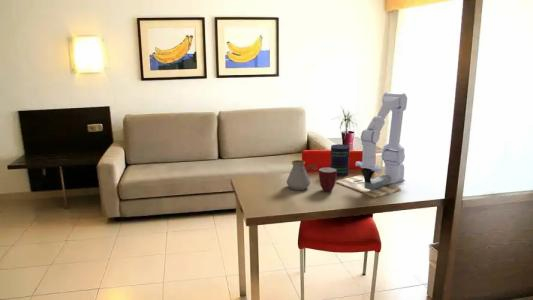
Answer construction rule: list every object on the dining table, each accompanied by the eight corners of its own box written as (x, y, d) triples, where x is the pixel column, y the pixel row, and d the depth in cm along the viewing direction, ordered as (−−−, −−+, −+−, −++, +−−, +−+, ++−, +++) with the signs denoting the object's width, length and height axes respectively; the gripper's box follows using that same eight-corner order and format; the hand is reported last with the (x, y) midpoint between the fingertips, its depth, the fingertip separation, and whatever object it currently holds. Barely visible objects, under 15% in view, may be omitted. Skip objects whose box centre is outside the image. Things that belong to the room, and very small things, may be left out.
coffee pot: (282, 185, 191) (282, 156, 187) (303, 182, 195) (303, 153, 192) (304, 200, 172) (304, 167, 168) (326, 195, 176) (327, 163, 173)
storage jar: (336, 177, 203) (336, 149, 199) (326, 172, 212) (327, 145, 208) (352, 175, 206) (353, 147, 203) (342, 170, 215) (343, 143, 211)
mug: (340, 194, 178) (340, 173, 175) (323, 195, 177) (323, 174, 174) (332, 187, 188) (333, 167, 186) (316, 188, 187) (316, 168, 184)
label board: (360, 176, 203) (360, 174, 203) (400, 190, 182) (400, 188, 181) (335, 182, 195) (335, 180, 194) (374, 197, 173) (374, 195, 173)
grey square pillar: (385, 183, 189) (385, 174, 188) (392, 185, 186) (393, 176, 185) (364, 190, 179) (364, 181, 178) (371, 193, 176) (372, 183, 175)
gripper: (351, 153, 181) (349, 181, 185) (374, 160, 169) (372, 190, 173) (362, 151, 185) (360, 179, 188) (386, 158, 173) (384, 187, 176)
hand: (367, 184), depth 181 cm, fingers closed
